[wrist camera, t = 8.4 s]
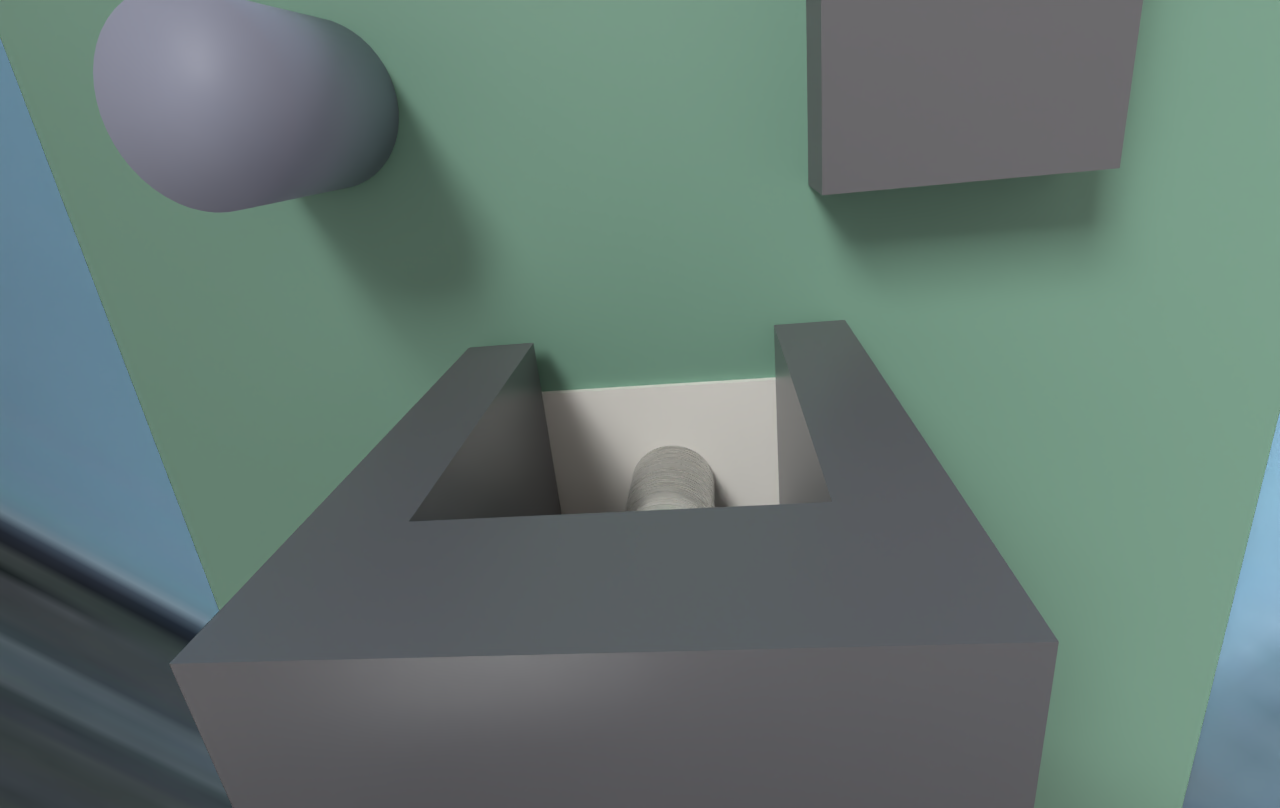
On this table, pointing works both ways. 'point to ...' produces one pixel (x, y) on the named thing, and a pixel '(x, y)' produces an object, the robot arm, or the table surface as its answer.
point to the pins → (671, 481)
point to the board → (716, 269)
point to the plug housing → (631, 624)
